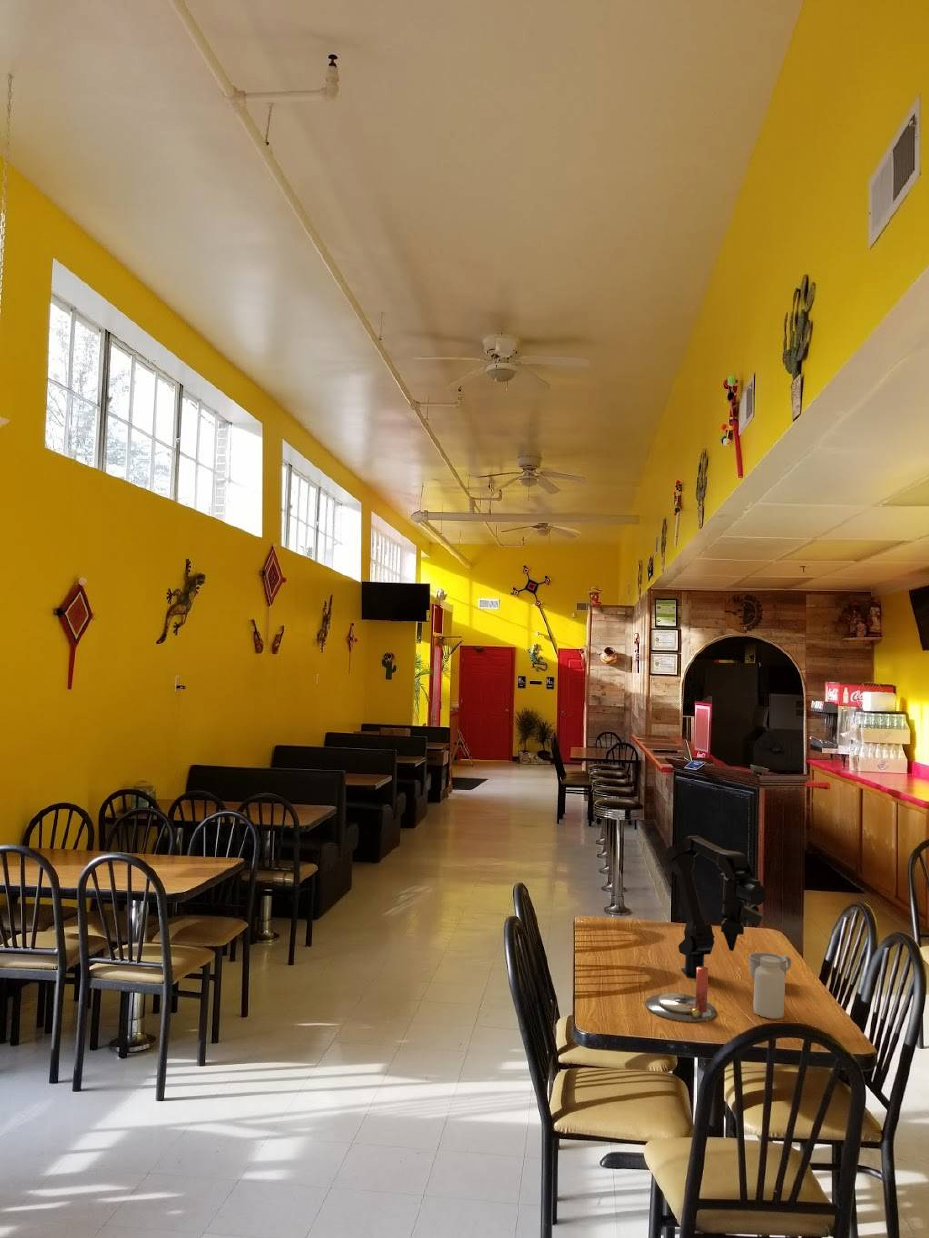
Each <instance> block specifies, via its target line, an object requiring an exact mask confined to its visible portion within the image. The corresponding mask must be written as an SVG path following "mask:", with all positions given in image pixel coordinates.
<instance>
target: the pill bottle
mask: <svg viewBox="0 0 929 1238" xmlns="http://www.w3.org/2000/svg"><path fill="white" fill-rule="evenodd" d="M780 962H781V961H780V959H778V958H776V957H772V956H762V957H761V958H760V965H761V966H758V967H757V968H756V970H755V980H753V981H754V983H753V985H754V986H753V988H754V989H753V1007H752V1008H753V1012H754V1013H755V1014H756V1015H757V1016H759V1015H760V1017H762V1018H765V1017H766V1019H773V1020H774V1019H775V1020H776V1019H778V1020H779V1019H782V1018H783V1017H784V1014H785V993H786V991H785V989H786V978H785V974H784V972H783V971H782V970H781V969H780Z"/></svg>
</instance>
